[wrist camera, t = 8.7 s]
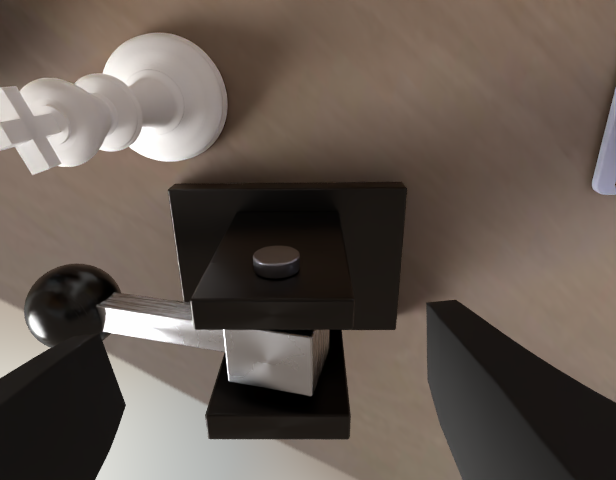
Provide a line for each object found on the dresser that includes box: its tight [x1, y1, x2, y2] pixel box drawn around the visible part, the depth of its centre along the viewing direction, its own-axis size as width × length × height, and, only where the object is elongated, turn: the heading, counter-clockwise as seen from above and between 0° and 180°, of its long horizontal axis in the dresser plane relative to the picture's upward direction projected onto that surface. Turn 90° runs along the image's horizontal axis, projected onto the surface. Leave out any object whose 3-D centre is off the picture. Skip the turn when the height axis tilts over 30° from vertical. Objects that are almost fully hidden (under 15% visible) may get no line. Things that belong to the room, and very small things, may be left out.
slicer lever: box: [24, 264, 329, 397], centre depth 15 cm, size 11×3×3 cm, turn 91°
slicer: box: [168, 182, 407, 439], centre depth 16 cm, size 10×7×8 cm
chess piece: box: [0, 33, 228, 175], centre depth 13 cm, size 5×5×10 cm
